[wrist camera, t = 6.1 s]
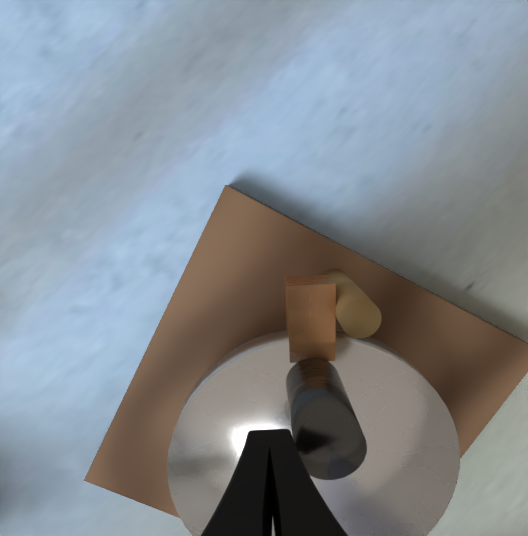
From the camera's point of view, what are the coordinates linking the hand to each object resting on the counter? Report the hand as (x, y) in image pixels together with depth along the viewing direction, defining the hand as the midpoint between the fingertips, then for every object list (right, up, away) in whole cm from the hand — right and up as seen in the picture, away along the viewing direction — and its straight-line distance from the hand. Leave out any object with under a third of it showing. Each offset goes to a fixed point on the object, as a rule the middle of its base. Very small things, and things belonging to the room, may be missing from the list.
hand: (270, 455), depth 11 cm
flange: (+2, -2, +6) cm, 7 cm away
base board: (+2, -2, +11) cm, 11 cm away
